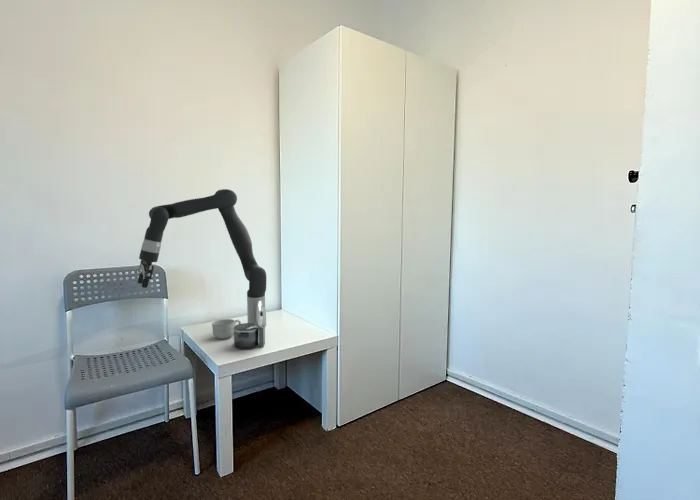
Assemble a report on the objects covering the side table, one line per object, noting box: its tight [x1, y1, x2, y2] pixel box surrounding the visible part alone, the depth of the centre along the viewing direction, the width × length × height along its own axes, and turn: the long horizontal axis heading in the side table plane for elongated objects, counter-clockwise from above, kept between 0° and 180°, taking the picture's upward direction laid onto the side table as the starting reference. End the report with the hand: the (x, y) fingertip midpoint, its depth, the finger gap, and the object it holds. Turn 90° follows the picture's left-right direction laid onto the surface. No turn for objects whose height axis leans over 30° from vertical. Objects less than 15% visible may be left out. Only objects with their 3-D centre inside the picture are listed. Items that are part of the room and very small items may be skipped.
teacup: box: [211, 318, 242, 340], centre depth 200 cm, size 14×11×8 cm
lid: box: [256, 301, 263, 327], centre depth 187 cm, size 12×12×2 cm
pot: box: [233, 322, 266, 351], centre depth 188 cm, size 14×14×9 cm
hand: (142, 285), depth 180 cm, fingers open, 8 cm apart
